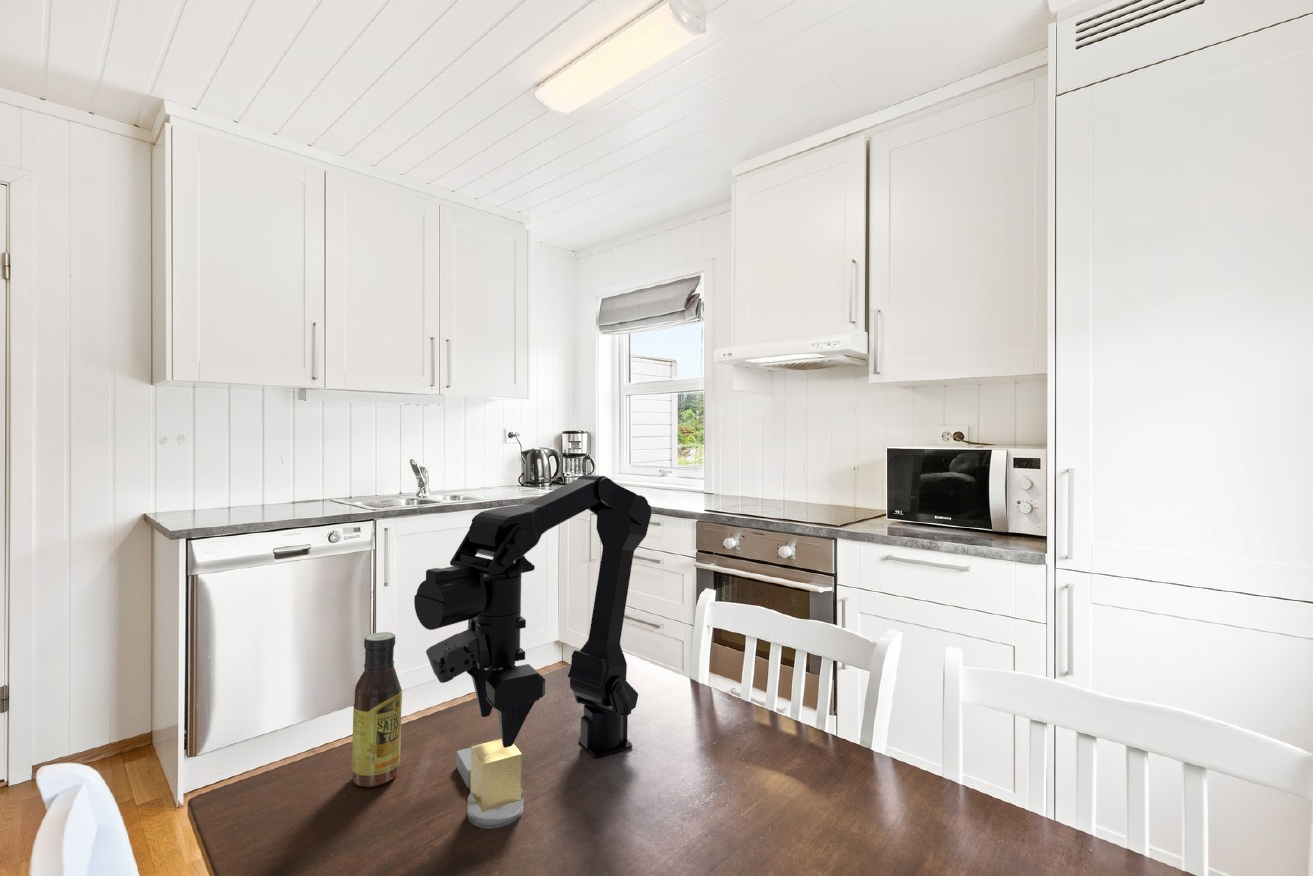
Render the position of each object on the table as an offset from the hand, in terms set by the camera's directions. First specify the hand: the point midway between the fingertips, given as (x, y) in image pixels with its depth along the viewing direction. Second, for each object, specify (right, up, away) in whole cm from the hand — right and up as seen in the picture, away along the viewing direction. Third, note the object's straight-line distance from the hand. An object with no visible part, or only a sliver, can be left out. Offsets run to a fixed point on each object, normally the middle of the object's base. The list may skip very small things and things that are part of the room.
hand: (496, 730), depth 81 cm
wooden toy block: (0, -9, 0) cm, 9 cm away
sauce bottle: (-19, -10, +8) cm, 23 cm away
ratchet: (-3, -10, +4) cm, 12 cm away
